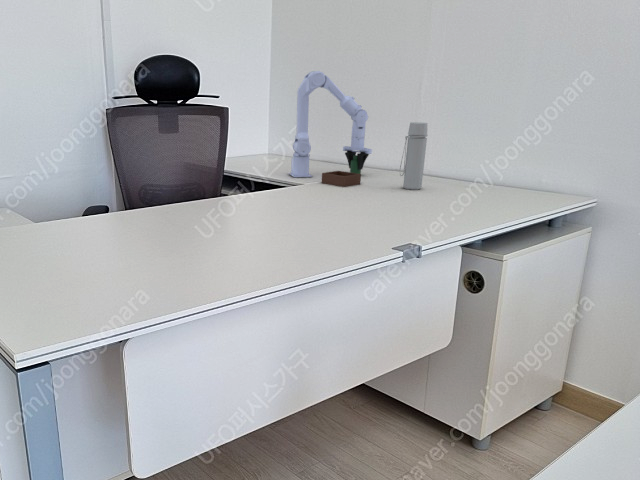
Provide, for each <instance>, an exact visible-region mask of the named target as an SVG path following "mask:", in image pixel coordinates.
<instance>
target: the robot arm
mask: <svg viewBox="0 0 640 480" xmlns="http://www.w3.org/2000/svg"><path fill="white" fill-rule="evenodd" d="M319 88H321V89H325V90H327V91H328V92H329V93H330V94H332V96H333V97H334V98H335V99H336V100H338V101H339V107H340V108H341V109H342V110H343V111H344V112H345V113H346V114H347V115H348V116H349V117H350V119H351V120H352V125H351V139H350V146H348V145H347V146H345V145H343V147H342V151H343V152H344V155H345V157H346V160H347V165H348V169H350V166H351V160H353V155H357V156H358V170H361V171H362V170H363V169H364V165H365V162H366V160H367V158H368V157H369V155H370V154H372V153H373V152H372V151H373V149H372V148H367V147H365V140H366V139H365V138H366V123H367V121H368V119H369V116H368V112H367V110H365V109H362V105H360V104H359V103H357V102H356V101H355V97H354V96H351V95H345V93H343V91H342V90H341V89H340V88H339V86H337V85H336V84H335V82H334V81H333V80H332V79H331V78H330V77H329V76H328V75H325V73H324V72H323V71H321V70H312V71H309V72H308V73H307V74H306V75H305V76H304V78H303V80H302V82H301V83H300V85H299V86H298V88H297V92H296V95H297V96H296V133H295V136H294V142H293V144H292V149H293V151H294V153H293V154H292V155H293V156H292V158H291V160H290V161H291V166H290V167H291V168H290V172H289V173H288V175H290V176H292V177H293V178H312V175H311V174H310V157H311V156H310V152H311V150H312V146H311V144H310V137H309V106H310V95H311V94H312V92H314V91H315V90H316V89H319Z"/></svg>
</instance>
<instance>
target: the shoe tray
mask: <svg viewBox="0 0 640 480" xmlns="http://www.w3.org/2000/svg"><path fill="white" fill-rule="evenodd" d="M361 177H362V174H357V173H350V171H344V170H334V171H327V172H322V173H321V184H325V185H332V186H338V187H343V188H345V187H351V186H356V185H357V186H358V185H361Z"/></svg>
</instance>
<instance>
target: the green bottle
mask: <svg viewBox="0 0 640 480" xmlns="http://www.w3.org/2000/svg"><path fill="white" fill-rule="evenodd" d="M349 172H350V173H357V174H361V173H362V169H361V170H358V156H357V154H356V155H353V160H351V166H350V168H349ZM361 175H362V174H361Z"/></svg>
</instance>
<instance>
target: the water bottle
mask: <svg viewBox="0 0 640 480" xmlns="http://www.w3.org/2000/svg"><path fill="white" fill-rule="evenodd" d="M428 124H429V123H428V122H421V121H420V122H419V121H418V122H417V121H415V122H413V121H412V122H409V127H408V130H407V131H408V132H407V135H405V143H404V147H403V152H402V155H401V161H400V165H399V170H401V168H402V163H403V173H402V174H401V173H399V176H400V177H403V184H402V187H403V189H405V190H411V191H416V190H417V191H418V190H420V189H422V185H423V179H424V168H425V161H426V160H425V159H426V153H427V152H426V149H427V143H428ZM404 157H405V160H404V162H403V159H404Z"/></svg>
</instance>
